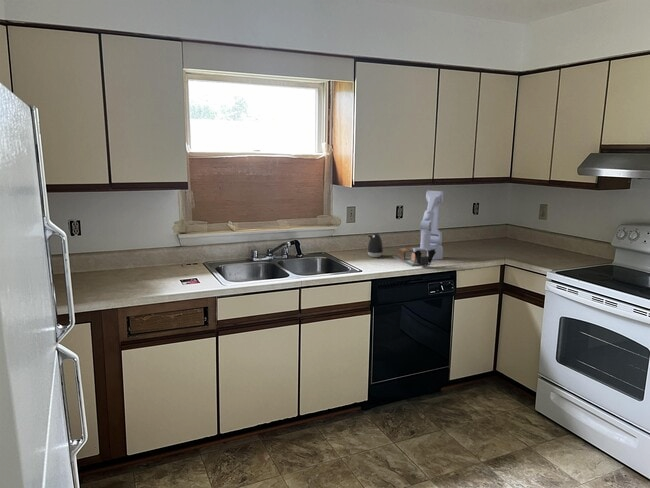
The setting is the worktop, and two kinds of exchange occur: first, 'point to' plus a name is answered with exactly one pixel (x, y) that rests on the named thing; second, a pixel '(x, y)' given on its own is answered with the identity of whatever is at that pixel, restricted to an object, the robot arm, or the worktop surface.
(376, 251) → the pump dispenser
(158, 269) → the worktop surface
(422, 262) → the sled
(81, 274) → the worktop surface
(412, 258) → the block
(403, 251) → the tunnel
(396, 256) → the track
